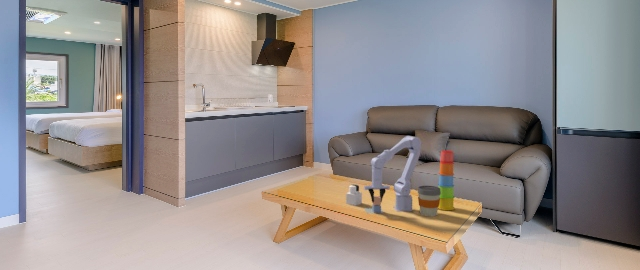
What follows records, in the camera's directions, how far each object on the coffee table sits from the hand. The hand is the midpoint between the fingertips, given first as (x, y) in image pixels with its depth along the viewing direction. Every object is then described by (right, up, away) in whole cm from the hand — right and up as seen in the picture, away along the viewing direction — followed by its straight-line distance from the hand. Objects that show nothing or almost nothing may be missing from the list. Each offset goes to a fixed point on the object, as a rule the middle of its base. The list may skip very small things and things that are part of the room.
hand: (376, 201), depth 210 cm
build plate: (-1, -6, +4) cm, 7 cm away
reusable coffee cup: (+29, -7, -2) cm, 30 cm away
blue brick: (0, -6, +1) cm, 6 cm away
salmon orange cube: (0, -1, 0) cm, 1 cm away
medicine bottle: (-11, -5, +18) cm, 22 cm away
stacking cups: (+42, -6, +8) cm, 44 cm away
